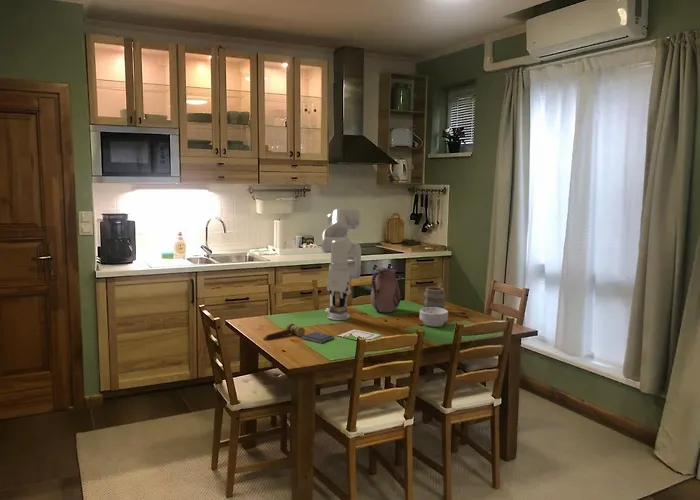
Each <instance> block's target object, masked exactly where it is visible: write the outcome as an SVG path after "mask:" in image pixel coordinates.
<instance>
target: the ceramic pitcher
mask: <svg viewBox="0 0 700 500" xmlns="http://www.w3.org/2000/svg"><path fill="white" fill-rule="evenodd" d="M374 270H375V271H374V272H373V274H372V275H371V287H372V289H371V292H370V303H371V306H372V307H373V309H374V310H375V311H376V312H380V313H393V312H394V311H396V310H397V308H398V307H399V305H400V303H401V292H400V287H399V283H398V279H397V278H396V272H397V269H395V268H394V267H388V268H387V267H376V268H375V269H374Z"/></svg>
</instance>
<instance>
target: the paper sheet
mask: <svg viewBox="0 0 700 500" xmlns="http://www.w3.org/2000/svg"><path fill="white" fill-rule="evenodd" d="M350 334H352V335H353V336H355V337H358V336H360V337H362V338H363V337H364V339H371V340H373V339H376V338H378V337H380V336H381V334H378V333H372V332H368V331H364V330H359V329H355V328H353V329H352V330H349V331H346V332H344V333H341V334H338V335H337V336H342V337H343V336H346V337H347V336H349V335H350ZM356 339H357V338H356Z"/></svg>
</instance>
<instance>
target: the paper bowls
mask: <svg viewBox="0 0 700 500" xmlns="http://www.w3.org/2000/svg"><path fill="white" fill-rule="evenodd" d="M418 319H419V320H420V321H422V323H423V324H424V325H425V326H426V327H427V326H428V327H435V328H436V327H442V326H444V324H445V322H448V321H449V311H448V310H447V309H446V308H444V309H443V308H438V307H425V306H424V307H422V308H420V309H419V318H418Z"/></svg>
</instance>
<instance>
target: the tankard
mask: <svg viewBox="0 0 700 500" xmlns="http://www.w3.org/2000/svg"><path fill="white" fill-rule="evenodd" d="M443 287H444V284H443V283H439V285H438V286H426V287H425V291H424V293H423V296H424V297H425V298H424V300H423V304H424V308H425V307H438V308H443V309H445V308H444V306H445V305H446V301H445V298H446V293H445V288H443Z"/></svg>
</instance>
